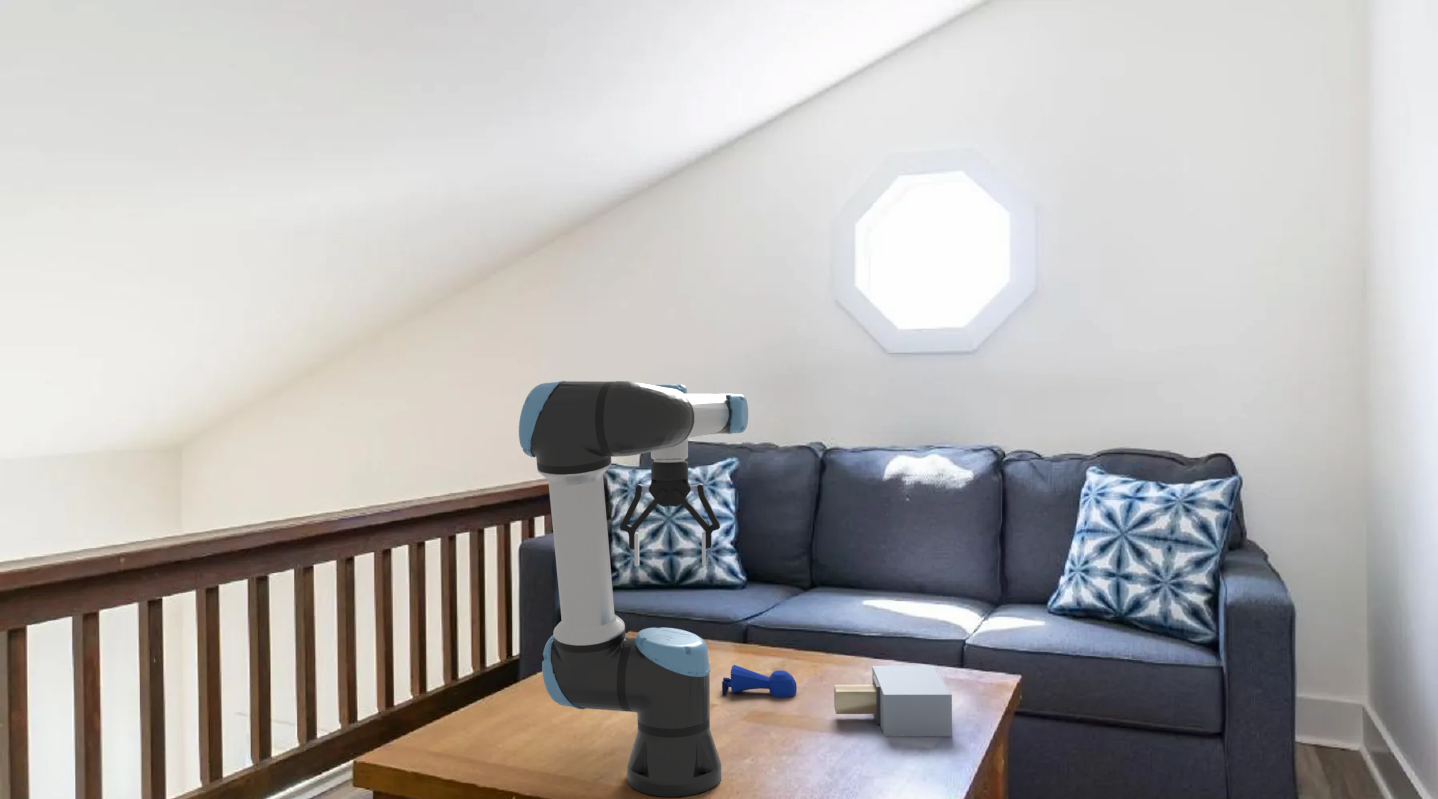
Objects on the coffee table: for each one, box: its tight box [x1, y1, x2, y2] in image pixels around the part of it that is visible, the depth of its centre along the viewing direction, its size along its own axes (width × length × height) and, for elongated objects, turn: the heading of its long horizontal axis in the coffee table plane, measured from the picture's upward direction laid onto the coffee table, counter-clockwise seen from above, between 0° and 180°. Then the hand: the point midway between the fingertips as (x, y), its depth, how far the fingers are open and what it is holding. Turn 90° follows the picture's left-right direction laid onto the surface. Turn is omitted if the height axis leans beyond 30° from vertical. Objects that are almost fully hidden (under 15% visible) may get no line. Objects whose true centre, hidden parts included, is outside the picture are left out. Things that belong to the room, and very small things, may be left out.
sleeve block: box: [871, 665, 953, 737], centre depth 189 cm, size 18×13×8 cm
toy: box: [721, 664, 798, 699], centre depth 206 cm, size 7×6×15 cm
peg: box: [833, 684, 877, 715], centre depth 189 cm, size 4×16×4 cm, turn 88°
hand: (670, 565), depth 205 cm, fingers open, 13 cm apart
